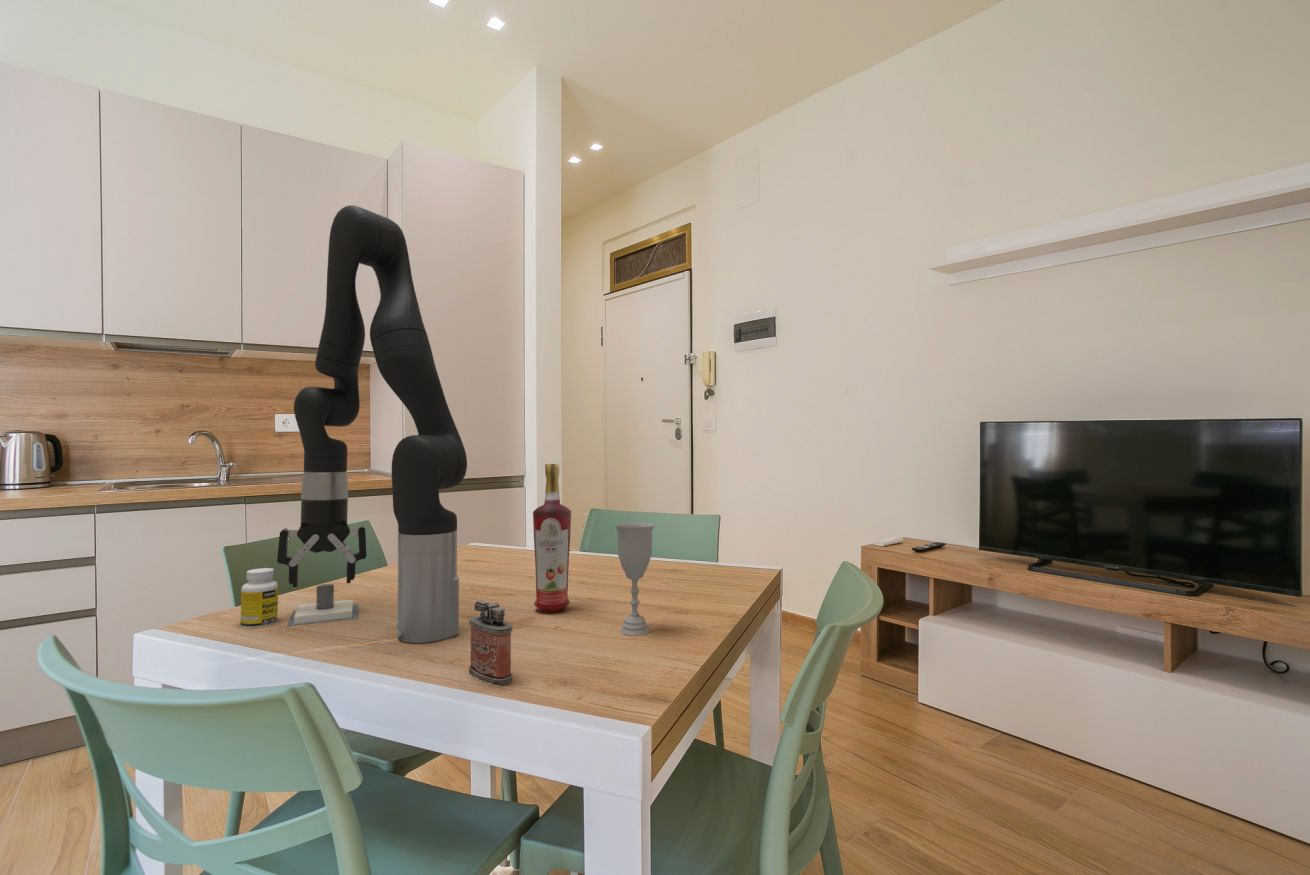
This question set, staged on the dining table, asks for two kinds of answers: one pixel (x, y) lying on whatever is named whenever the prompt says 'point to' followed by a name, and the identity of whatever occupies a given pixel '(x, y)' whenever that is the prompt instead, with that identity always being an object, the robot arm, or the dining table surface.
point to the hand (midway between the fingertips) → (322, 584)
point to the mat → (354, 616)
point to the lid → (324, 607)
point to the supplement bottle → (259, 599)
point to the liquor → (552, 547)
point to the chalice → (634, 567)
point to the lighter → (490, 644)
